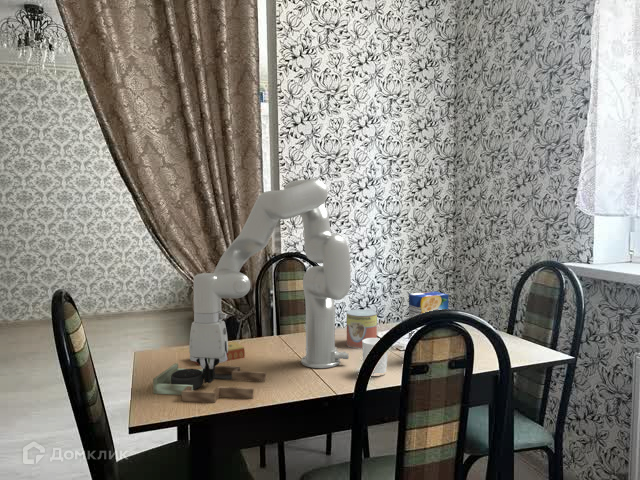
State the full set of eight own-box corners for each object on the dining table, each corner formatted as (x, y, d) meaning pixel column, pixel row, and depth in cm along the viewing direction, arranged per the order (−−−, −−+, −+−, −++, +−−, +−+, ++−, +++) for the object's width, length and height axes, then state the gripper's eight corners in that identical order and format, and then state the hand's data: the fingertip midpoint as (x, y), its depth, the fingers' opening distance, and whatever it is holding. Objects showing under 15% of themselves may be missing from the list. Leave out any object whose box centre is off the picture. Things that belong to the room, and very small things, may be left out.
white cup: (381, 379, 148) (381, 345, 147) (357, 374, 152) (357, 342, 152) (392, 371, 155) (392, 339, 154) (369, 367, 159) (369, 336, 158)
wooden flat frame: (269, 376, 151) (269, 363, 151) (248, 404, 129) (248, 389, 129) (180, 372, 155) (180, 359, 155) (146, 398, 133) (145, 384, 133)
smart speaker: (167, 392, 138) (166, 378, 138) (176, 381, 147) (176, 367, 147) (199, 392, 138) (198, 378, 138) (206, 381, 147) (206, 367, 147)
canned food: (341, 346, 183) (341, 314, 182) (352, 339, 193) (352, 308, 193) (371, 350, 179) (371, 316, 178) (380, 342, 189) (380, 310, 188)
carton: (245, 358, 170) (244, 346, 169) (199, 367, 161) (198, 354, 161) (235, 352, 177) (235, 340, 176) (190, 360, 168) (190, 348, 168)
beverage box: (408, 359, 168) (408, 293, 166) (434, 354, 172) (435, 291, 171) (420, 364, 161) (421, 297, 160) (447, 360, 166) (448, 294, 165)
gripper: (237, 315, 144) (238, 378, 145) (187, 313, 146) (189, 375, 147) (229, 321, 136) (230, 387, 137) (177, 319, 138) (178, 384, 139)
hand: (209, 381), depth 142 cm, fingers closed
